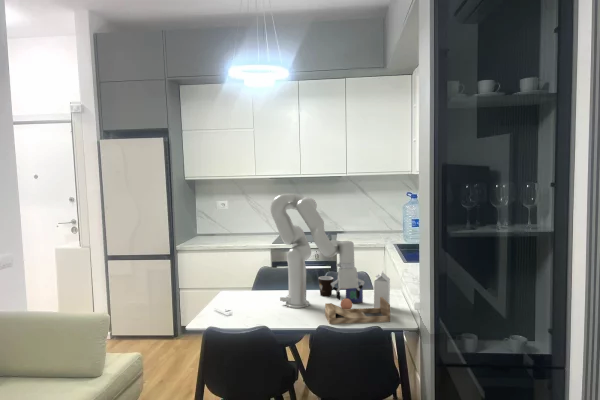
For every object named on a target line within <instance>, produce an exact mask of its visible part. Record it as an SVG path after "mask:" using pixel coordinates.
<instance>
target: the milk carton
mask: <svg viewBox="0 0 600 400" xmlns="http://www.w3.org/2000/svg"><path fill="white" fill-rule="evenodd" d="M390 283H391V278H390V277H388V276H387V275H386V274H385V273H384V270H382V272H381V273H380V274H379V273H378V274H376V275H375V279H374V281H373V286H374V287H373V308H380V297H383V298H384V299H385V300H386V301H387V302H388V303H389V304H390V299H391V298H390V297H391V296H390V293H391V292H390V291H391V290H390V287H391V284H390ZM390 305H391V304H390Z"/></svg>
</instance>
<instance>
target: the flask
mask: <svg viewBox="0 0 600 400" xmlns="http://www.w3.org/2000/svg"><path fill="white" fill-rule="evenodd" d="M359 286H360V285H358V287H359ZM363 287H364V286H363ZM363 287H362V288H361V289H360V297H359V299H357V298H356V288H349V289H345V299H346V298H347V299H350V300H351V302H352V304H363V303H364V299H363V297H364V294H363V291H364V289H363Z"/></svg>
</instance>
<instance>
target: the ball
mask: <svg viewBox="0 0 600 400" xmlns="http://www.w3.org/2000/svg"><path fill="white" fill-rule="evenodd" d="M352 307H353V303H352V302H351V300H350V299H347V298H346V297H345V298H343V299H342V300H341V301H340V308H343V309H353V308H352Z"/></svg>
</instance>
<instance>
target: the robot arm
mask: <svg viewBox="0 0 600 400" xmlns="http://www.w3.org/2000/svg"><path fill="white" fill-rule="evenodd" d="M317 206H318V205H317V202H316V200H314V198H312V197H309V196H304V195H299V194H296V193H282V194H279V195H277V196H275V197H274V199H273V200H272V202H271V204H270V214H271V217H272V219H273V221H274V223H275V225H276V229H277V231H278V233H279V236H280V238H281V240H282V242H283V244H284V245H287V246H292V247H291V248H289V250H288V252H287V253H286V261H287V274H288V295H287V296H285V297H282V296H281V297H279V302H284V303H285V306H287V307H289V308H292V309H302V308H306V307H309V305H310V301H309V300H307V268H306V267H307V266H306V262H305V261H307V260H309V259H310V258H311V256H312V248H311V246H310V243H309V241H308V239H307V235H306V234H305V232H304V229H302V228H301V226H299V225H296V224H295V225H294V223H293V222H292V218H291V217H290V215H289V214H288V212H287V210H290V209H291V210H295V211H297V212H298V214H299V215H300V217H301V219H302V220H303V221H304V222H305V224H306V225H307V227H308V229H309V231H310V234H311V237H312V240H313V242H314V244H315V246H316V247H317V249H318V250H319V251H320V253H321V254H322V255H323V257H325V258H332V257H335V255H338V258H339V262H338V263H336V267H338V268H337V269H338V270H337V279H335V280H333V282H332V283H331V286H332V289H333V291H335V292H336V298H337V299H338V301H340V300H341V292H340V291H341V290H343V289H345V290H346V289H349V288H356V298H357V299H359V297H360V289H361V288H362V287H364V284H365V283H366V282H365V281H364V280H362V279H360V278H359V277H358V276H359V275H358V270H357V268H356V266H355V245H354V242H353V241H352V240H351V241H350V240H336V239H331V240H330V238H329V237H328V235H327V234H326V231H325V221H324V219H323V217H322V216H321V215H320V214H319V212H318V210H317ZM359 283H360V284H359ZM335 285H337V287H336V286H335ZM358 286H359V287H358Z"/></svg>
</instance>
